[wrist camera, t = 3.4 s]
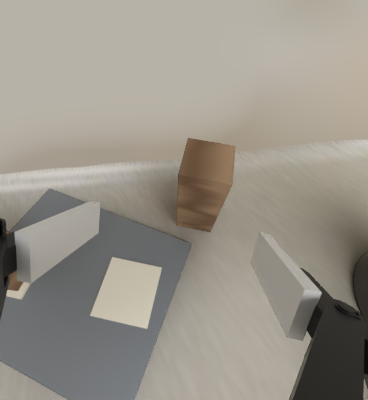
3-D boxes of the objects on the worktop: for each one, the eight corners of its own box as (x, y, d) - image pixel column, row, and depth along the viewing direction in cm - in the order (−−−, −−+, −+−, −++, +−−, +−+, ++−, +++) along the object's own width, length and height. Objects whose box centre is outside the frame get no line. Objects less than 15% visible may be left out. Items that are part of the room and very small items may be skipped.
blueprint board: (190, 245, 26) (191, 243, 25) (125, 424, 17) (121, 432, 16) (53, 192, 29) (48, 187, 28) (-62, 319, 21) (-75, 320, 19)
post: (213, 202, 30) (235, 146, 19) (210, 232, 27) (232, 184, 17) (182, 197, 30) (188, 137, 20) (176, 225, 28) (178, 174, 17)
